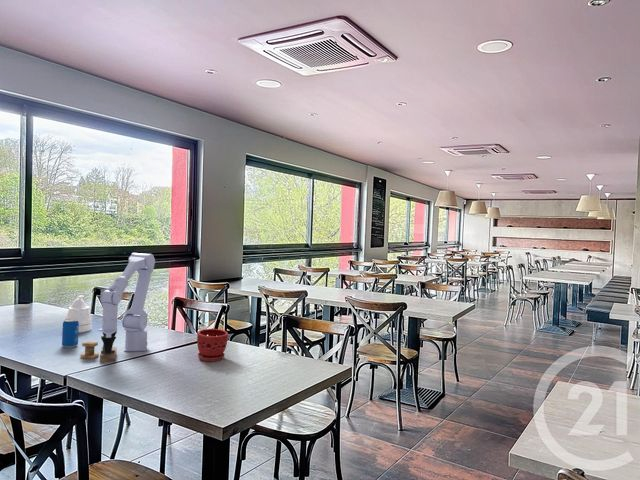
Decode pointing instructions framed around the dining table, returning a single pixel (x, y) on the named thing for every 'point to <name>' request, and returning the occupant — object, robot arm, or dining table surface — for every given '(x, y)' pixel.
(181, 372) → the dining table surface
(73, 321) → the beverage can
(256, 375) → the dining table surface
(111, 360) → the block with rectangular opening
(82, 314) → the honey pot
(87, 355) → the spool
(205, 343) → the plant pot
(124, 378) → the dining table surface
